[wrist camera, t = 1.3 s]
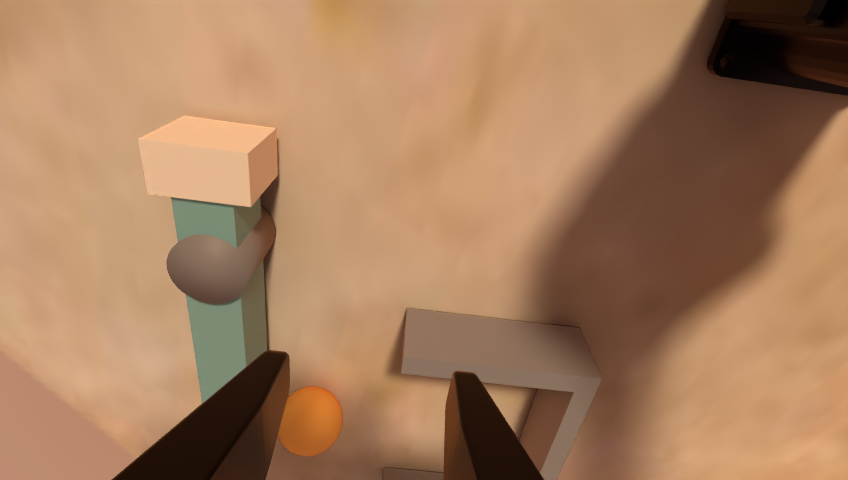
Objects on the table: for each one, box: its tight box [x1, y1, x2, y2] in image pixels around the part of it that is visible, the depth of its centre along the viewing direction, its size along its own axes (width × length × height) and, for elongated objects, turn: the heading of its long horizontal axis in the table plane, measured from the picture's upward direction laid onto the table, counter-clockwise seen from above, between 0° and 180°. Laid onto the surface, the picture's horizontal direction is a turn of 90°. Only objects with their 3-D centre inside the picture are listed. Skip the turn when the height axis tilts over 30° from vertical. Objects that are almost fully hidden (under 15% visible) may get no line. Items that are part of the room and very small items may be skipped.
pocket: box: [382, 308, 602, 480], centre depth 25 cm, size 9×14×4 cm, turn 172°
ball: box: [278, 387, 343, 456], centre depth 24 cm, size 4×4×4 cm
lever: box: [138, 116, 278, 403], centre depth 21 cm, size 18×4×4 cm, turn 172°
